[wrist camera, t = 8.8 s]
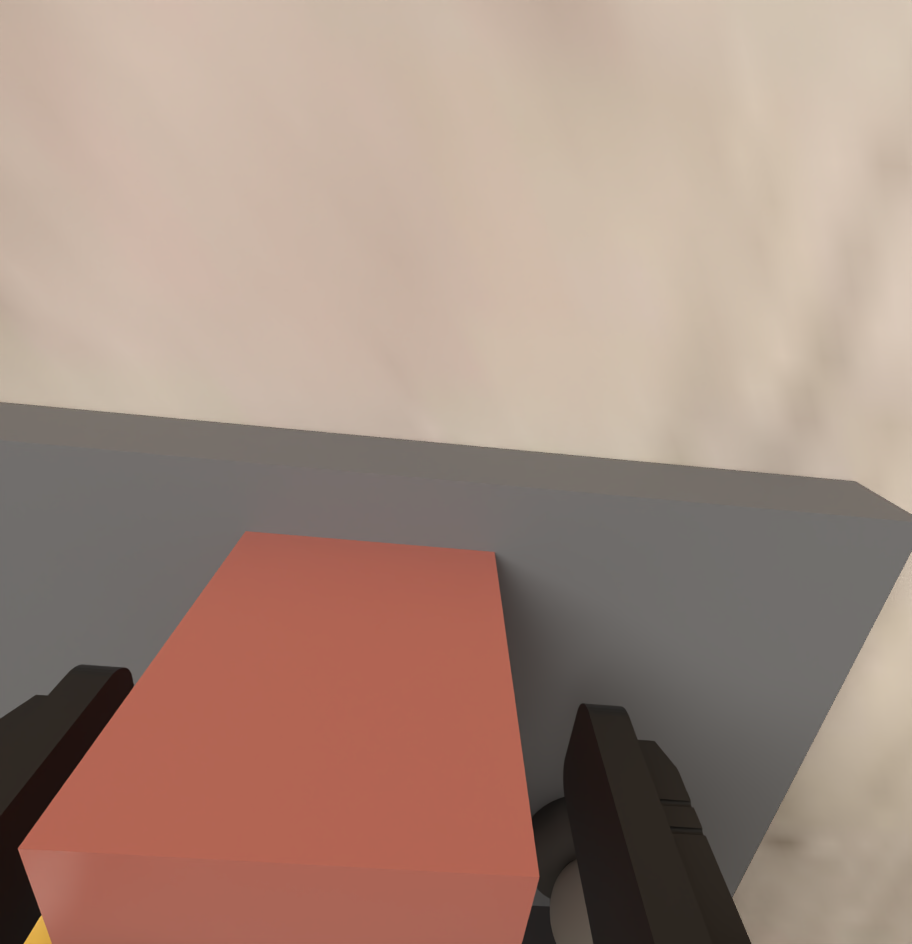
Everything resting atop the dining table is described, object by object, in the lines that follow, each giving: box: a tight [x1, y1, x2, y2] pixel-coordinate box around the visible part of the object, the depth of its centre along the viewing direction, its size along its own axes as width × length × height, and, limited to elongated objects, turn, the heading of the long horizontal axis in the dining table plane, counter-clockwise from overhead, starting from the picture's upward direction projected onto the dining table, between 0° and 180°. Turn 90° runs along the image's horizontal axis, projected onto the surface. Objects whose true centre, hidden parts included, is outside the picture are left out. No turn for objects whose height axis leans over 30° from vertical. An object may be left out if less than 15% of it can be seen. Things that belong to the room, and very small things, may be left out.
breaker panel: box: [0, 402, 912, 944], centre depth 13 cm, size 22×22×6 cm
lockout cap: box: [18, 531, 539, 944], centre depth 9 cm, size 5×5×6 cm
